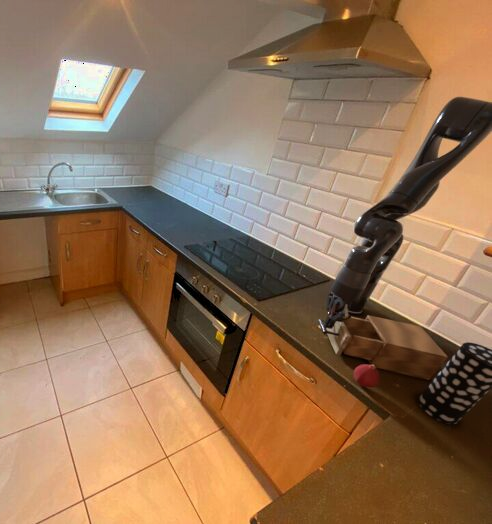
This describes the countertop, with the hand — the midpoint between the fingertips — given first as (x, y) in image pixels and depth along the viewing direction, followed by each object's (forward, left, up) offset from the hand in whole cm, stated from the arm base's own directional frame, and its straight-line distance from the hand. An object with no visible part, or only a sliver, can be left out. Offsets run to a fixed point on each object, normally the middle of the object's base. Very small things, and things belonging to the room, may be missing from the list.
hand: (327, 326), depth 96 cm
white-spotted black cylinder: (+18, +25, -7) cm, 31 cm away
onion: (+16, +7, -7) cm, 18 cm away
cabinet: (0, +21, -6) cm, 22 cm away
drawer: (0, +8, -5) cm, 9 cm away
